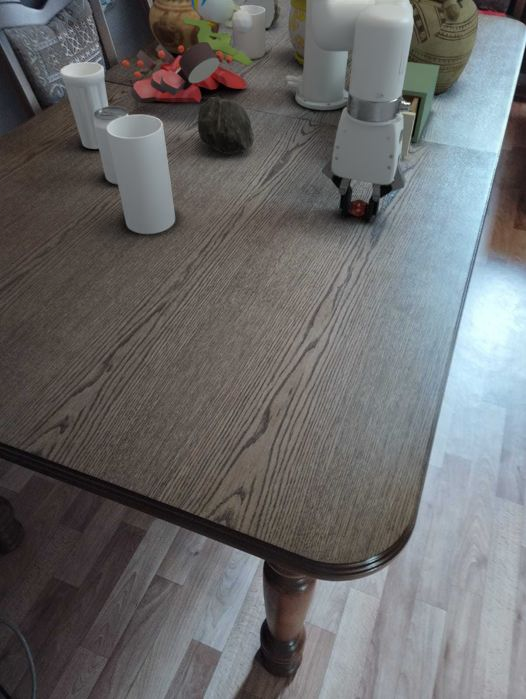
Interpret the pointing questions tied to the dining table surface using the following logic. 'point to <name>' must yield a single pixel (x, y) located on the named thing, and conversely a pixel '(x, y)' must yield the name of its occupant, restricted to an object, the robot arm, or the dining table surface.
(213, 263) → the dining table surface
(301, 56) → the flowerpot
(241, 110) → the rock
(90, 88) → the cup
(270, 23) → the sculpture
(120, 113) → the can
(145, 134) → the cup
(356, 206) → the die
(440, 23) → the ceramic vessel
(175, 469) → the dining table surface
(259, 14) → the mug
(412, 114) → the drawer
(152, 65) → the sushi set
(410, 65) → the cabinet
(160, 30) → the clay pot
